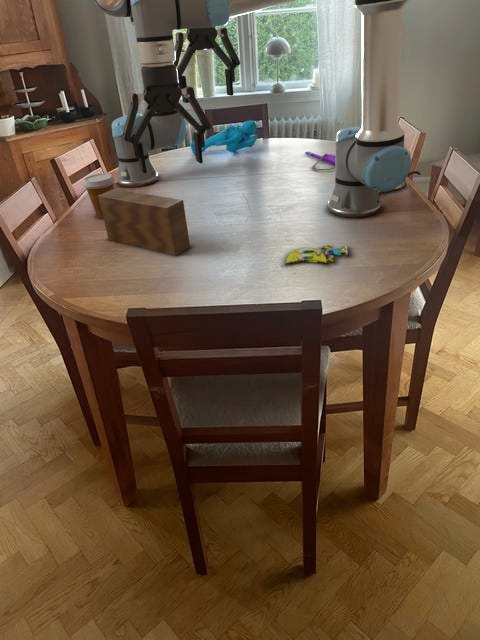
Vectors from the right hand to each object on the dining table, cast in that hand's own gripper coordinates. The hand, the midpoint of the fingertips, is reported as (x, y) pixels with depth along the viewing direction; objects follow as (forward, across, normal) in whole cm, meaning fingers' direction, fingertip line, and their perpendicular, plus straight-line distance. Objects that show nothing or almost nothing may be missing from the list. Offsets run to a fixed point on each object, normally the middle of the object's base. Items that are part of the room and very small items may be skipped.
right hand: (172, 166), depth 112 cm
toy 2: (+22, +28, -19) cm, 41 cm away
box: (+23, -6, +13) cm, 27 cm away
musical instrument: (+22, +72, +50) cm, 91 cm away
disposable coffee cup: (+23, -12, +43) cm, 51 cm away
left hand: (-10, +20, +26) cm, 34 cm away
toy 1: (+22, +48, +92) cm, 107 cm away
